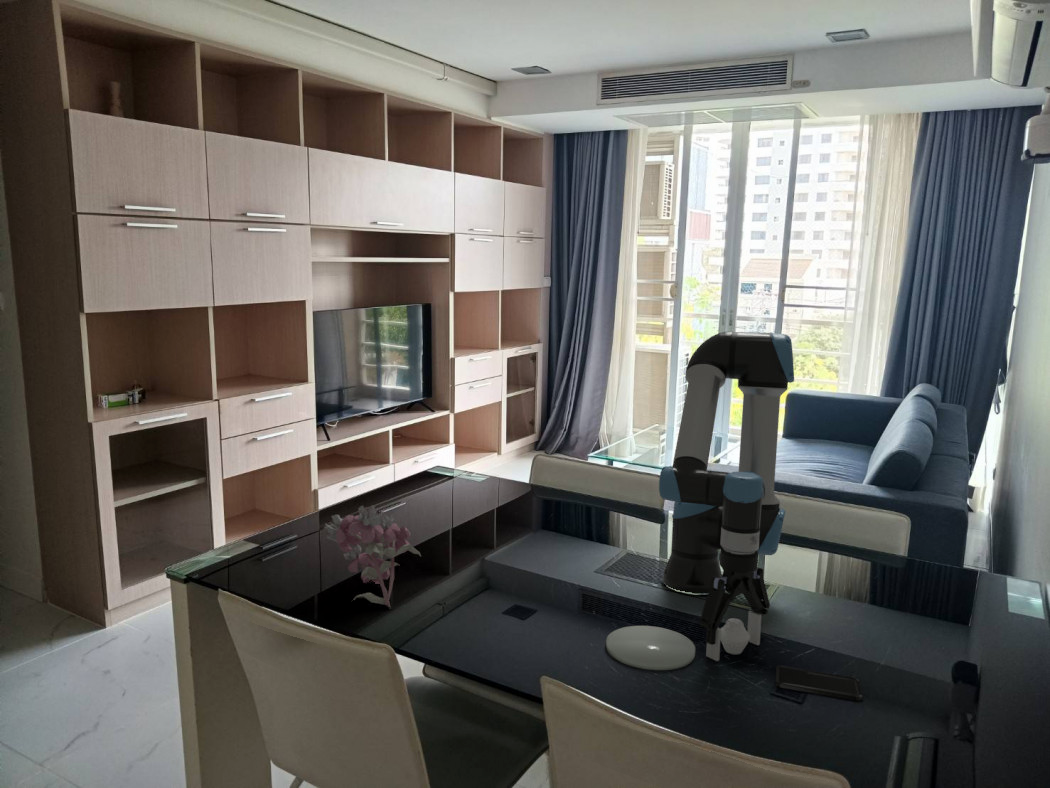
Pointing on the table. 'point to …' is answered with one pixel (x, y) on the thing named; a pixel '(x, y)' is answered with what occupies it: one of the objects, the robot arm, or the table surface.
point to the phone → (818, 683)
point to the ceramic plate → (650, 647)
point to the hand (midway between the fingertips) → (733, 650)
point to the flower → (371, 546)
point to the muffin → (734, 636)
